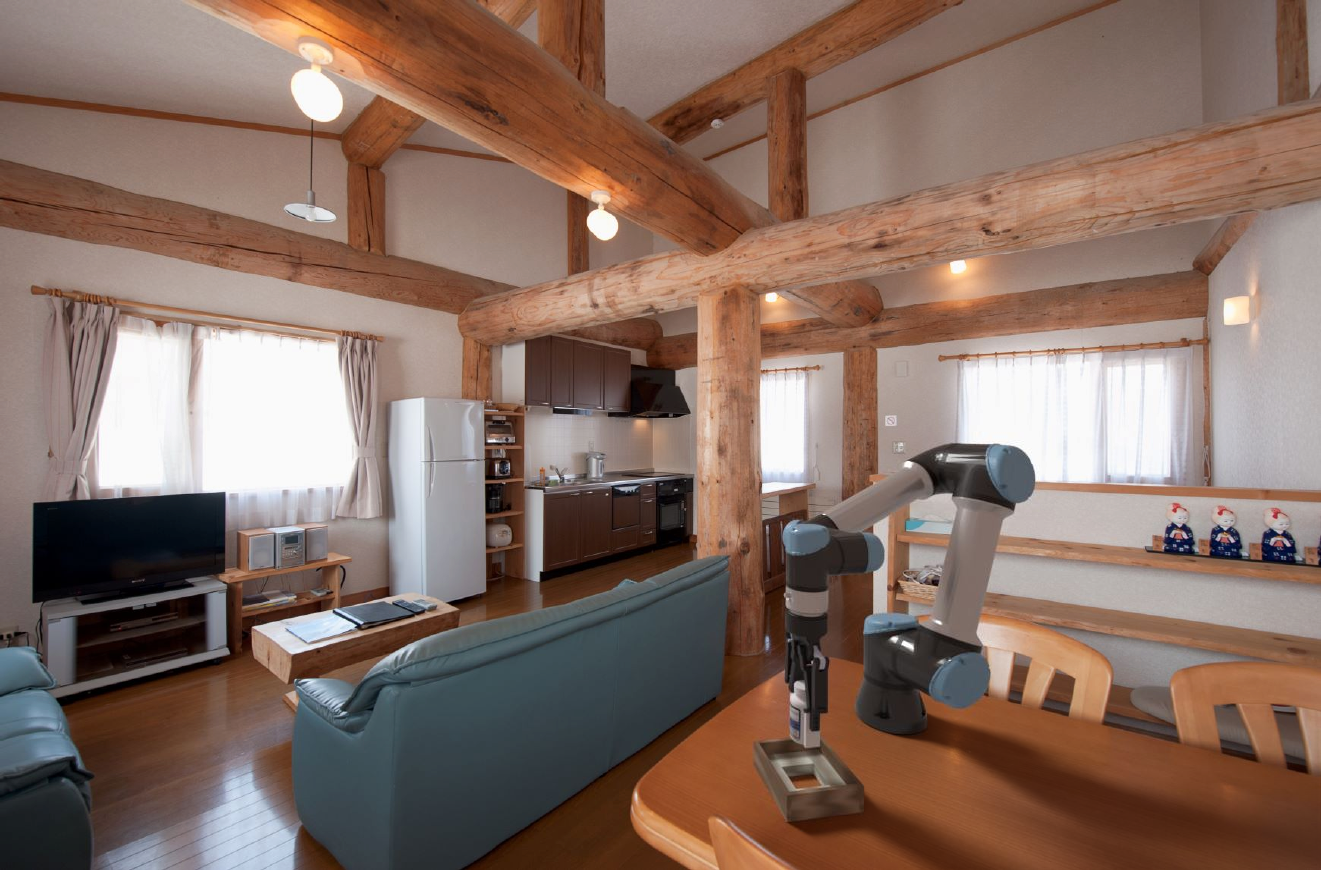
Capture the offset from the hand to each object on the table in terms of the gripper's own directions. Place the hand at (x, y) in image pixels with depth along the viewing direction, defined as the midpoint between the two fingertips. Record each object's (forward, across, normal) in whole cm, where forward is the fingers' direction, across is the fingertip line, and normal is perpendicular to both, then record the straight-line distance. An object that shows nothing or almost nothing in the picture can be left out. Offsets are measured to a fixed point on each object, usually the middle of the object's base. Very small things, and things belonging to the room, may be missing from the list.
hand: (804, 736), depth 100 cm
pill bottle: (+1, 0, 0) cm, 1 cm away
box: (+9, 0, 0) cm, 9 cm away
